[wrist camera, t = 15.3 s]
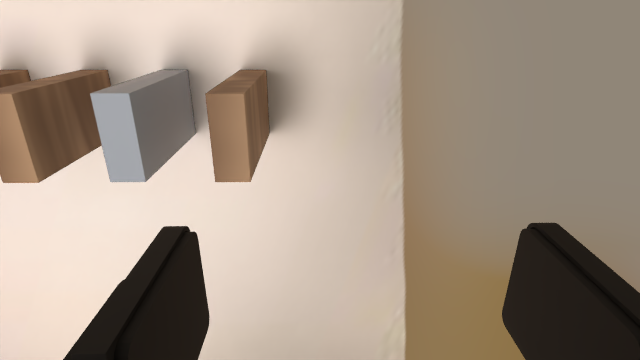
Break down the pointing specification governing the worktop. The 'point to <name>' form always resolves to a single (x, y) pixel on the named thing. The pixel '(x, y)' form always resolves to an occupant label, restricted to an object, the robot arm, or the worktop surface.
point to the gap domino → (143, 123)
